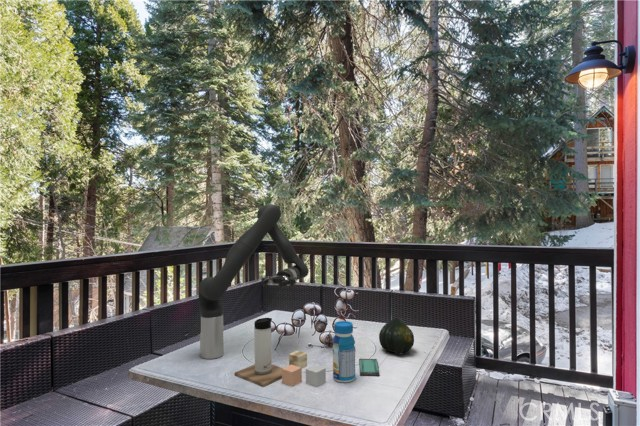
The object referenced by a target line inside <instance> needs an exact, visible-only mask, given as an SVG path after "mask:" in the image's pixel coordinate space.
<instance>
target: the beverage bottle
mask: <svg viewBox="0 0 640 426" xmlns="http://www.w3.org/2000/svg"><path fill="white" fill-rule="evenodd" d="M353 325H354V324H353V323H352V322H351V321H348V320H340V321H335V323H334V325H333V326H334V329H333V331H334V333H335V334H334V336H333V339H332V344H333V346H332V347H331V350H332V376H333V377H332V378H333V379H334V380H335V382H339V383H350V382H353V381H354V380H355V379H356V346H355V344H356V340H355V337H354V336H353V333H354V332H353V331H354V326H353Z"/></svg>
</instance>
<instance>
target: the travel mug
mask: <svg viewBox="0 0 640 426" xmlns="http://www.w3.org/2000/svg"><path fill="white" fill-rule="evenodd" d="M272 321H273V318H272V317H260V318H258V319H256V320H254V327H253V329H254V334H253V335H254V364H255V373H256V374H259V375H265V374H268V373H270V372H271V371H272V367H271V366H272V365H273V364H272Z"/></svg>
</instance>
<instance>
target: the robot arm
mask: <svg viewBox="0 0 640 426" xmlns="http://www.w3.org/2000/svg"><path fill="white" fill-rule="evenodd" d="M256 213H257V214H256V215H257V220H256V222H255V223H254V224H253V225H252V226H251V227H249V229H247V230H246V231H245V232H244V233H243V234H241V235H240V236H239V237H238V239H237V240H236V241H235V242H234V244H232V246H231V247H230V248H229V251H228V253H227V255H226V258H225V260H224V263H223V265H222V266H221V268H220V269H219V271H218V272H217V273H216V274H215V275H214V276H207V277H205V278H203V279H202V280H201V281H200V283H199V286H198V308H199V311H200V333H199V343H200V344H199V353H200V354H199V355H200V356H201V358H202V359H204V360H214V359H217V358H221V357H223V356H224V308H223V306H222V303H221V298H222V297H223V296H224V295H225V293H227V291H228V288H229V287H230V285H231V284H232V282H233V280H234V279H235V277H236V276H237V275H238V273H240V271H241V269H242V268H243V266H245V264H246V263H247V261H249V259H250V258H251V256H252V255H253V254H254V253H255V251H256V249H257V248H258V247H259V246H260V244H261V242H262V241H263V240H264V238H265V237H266V235H267V234H268V235H269V237H270V238H271V240H272V242H273V243H274V245H275V247H276V249H277V250H278V252H279V255H280V256H281V259H282V260H283V263H285V264H295V265H292V266H290V267H288V268H287V267H286V268H284V269H281V270H279V271H278V272H277V273H276V274H275V276H269V275H267V276H264V277H262V278H261V280H260V281H261V286H262V287H265V286H268V285H269V286H278V287H280V288H282V289H283V288H285V289H286V288H287V287H290V286H292V287H293V286H295V285H296V284H298V283H297V281H299V280H301V279H304V278H306V277H307V276H308V275H309V267H308V266H307V265H306V264H307V263H305V262H304V261H303V260H302V259H301V258H300V257H299V255H298V254H297V252H296V249H295V248H294V246H293V244H292V243H291V241H290V240H289V239H288V238H287V236H286V235H285V234H284V232H283V231H282V230H281V229H280V227H279V225H278V222H279V221H280V219H281V216H282V211H281V208H280V207H279V206H278V205H276V204H270V203H269V204H266V205H263V206H260V207H259V208H258V210H257V212H256Z"/></svg>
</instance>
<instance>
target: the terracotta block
mask: <svg viewBox="0 0 640 426" xmlns="http://www.w3.org/2000/svg"><path fill="white" fill-rule="evenodd" d="M282 368H283V369H282V378H281V383H282V384H285V385H288V386H290V387H294V386H296V385H297V384H299V383H302V382H303V379H302V378H303V377H302V375H303V372H302V369H303V368H301V367H298V366H295V365H292V364H291V365H289V364H288V365H286V366H284V367H282Z"/></svg>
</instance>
